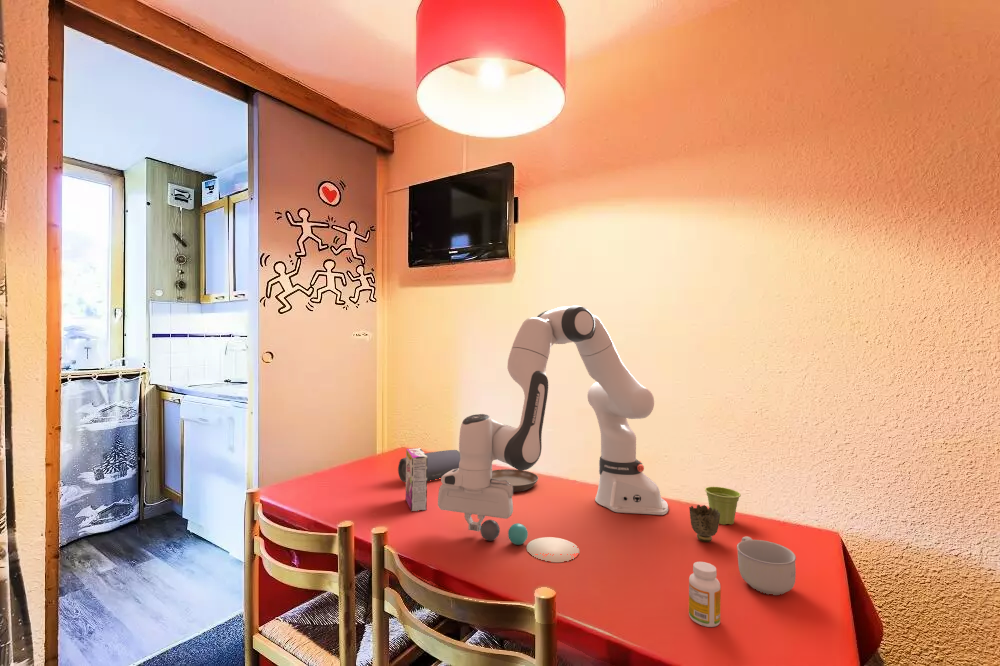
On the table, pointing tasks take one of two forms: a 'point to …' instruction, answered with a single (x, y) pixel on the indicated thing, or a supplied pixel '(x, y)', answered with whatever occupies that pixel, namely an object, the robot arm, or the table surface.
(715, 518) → the cup
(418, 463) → the candy bar box
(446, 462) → the bluetooth speaker
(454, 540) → the table surface
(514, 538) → the teal ball
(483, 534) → the gray ball
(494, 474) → the plant saucer
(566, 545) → the cream mark
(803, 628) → the table surface
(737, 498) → the plant pot
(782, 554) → the teacup
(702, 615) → the supplement bottle
